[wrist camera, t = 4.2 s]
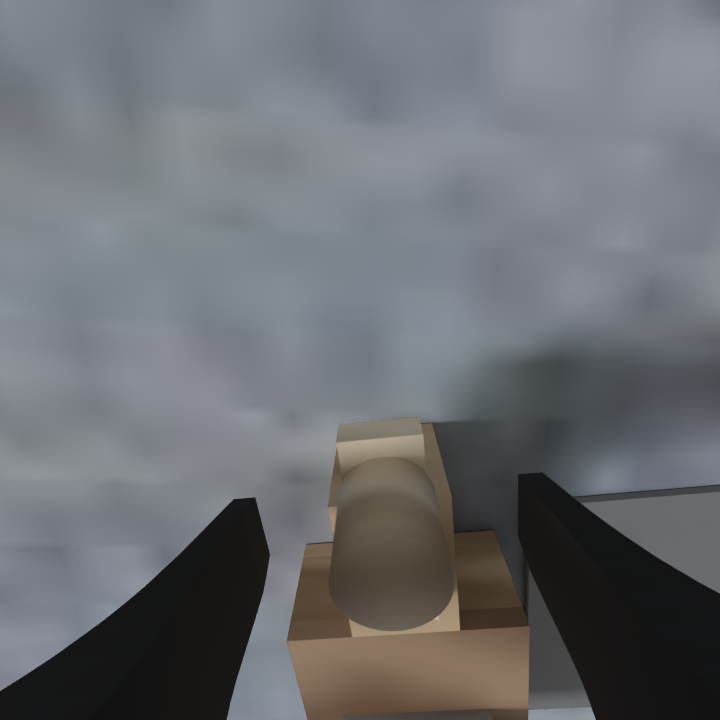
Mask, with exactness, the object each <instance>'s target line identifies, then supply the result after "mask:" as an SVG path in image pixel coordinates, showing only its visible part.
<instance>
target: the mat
mask: <svg viewBox="0 0 720 720" xmlns="http://www.w3.org/2000/svg"><path fill="white" fill-rule="evenodd" d="M573 498H575V499H576V500H577V501H579V502H580V503H581V504H582V505H584V506H585V507H586V508H588V509H589V510H590V511H591V512H593V513H594V514H595V515H597V516H598V517H599V518H601V519H602V520H603V521H605V522H606V523H608V524H609V525H610V526H612V527H613V528H615V529H616V530H617V531H619V532H620V533H622V534H623V535H624V536H626V537H627V538H629V539H630V540H632V541H633V542H635V543H636V544H638V545H639V546H641V547H642V548H644V549H645V550H647V551H648V552H650V553H651V554H653V555H654V556H656V557H658V558H659V559H661V560H662V561H664V562H666V563H667V564H669V565H671V566H672V567H674V568H676V569H677V570H679V571H681V572H683V573H684V574H686V575H688V576H689V577H691V578H693V579H694V580H696V581H698V582H700V583H701V584H703V585H705V586H707V587H709V588H710V589H712V590H714V591H716V592H718V593H720V485H718V486H706V487H694V488H682V489H670V490H658V491H646V492H634V493H621V494H609V495H597V496H585V497H573ZM525 615H526V618H527V621H528V623H529V626H530V634H529V693H528V710H533V709H553V708H574V707H591V705H590V702H589V700H588V697H587V694H586V692H585V689H584V686H583V684H582V681H581V679H580V677H579V674H578V672H577V670H576V668H575V665H574V663H573V661H572V659H571V657H570V654H569V652H568V650H567V648H566V646H565V644H564V642H563V640H562V638H561V636H560V633H559V631H558V629H557V627H556V625H555V623H554V621H553V619H552V617H551V615H550V612H549V610H548V608H547V606H546V604H545V602H544V600H543V598H542V596H541V593H540V591H539V589H538V587H537V585H536V583H535V581H534V578H533V576H532V574H531V572H530V569H529V566H528V563H527V560H526V611H525Z"/></svg>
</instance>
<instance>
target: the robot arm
mask: <svg viewBox="0 0 720 720" xmlns="http://www.w3.org/2000/svg"><path fill="white" fill-rule="evenodd" d="M518 536H519V539H520V542H521V545H522V548H523V551H524V554H525V557H526V560H527V563H528V566H529V569H530V572H531V574H532V576H533V578H534V581H535V583H536V585H537V587H538V589H539V591H540V593H541V596H542V598H543V600H544V602H545V604H546V606H547V608H548V610H549V612H550V615H551V617H552V619H553V621H554V623H555V625H556V627H557V629H558V631H559V633H560V636H561V638H562V640H563V642H564V644H565V646H566V648H567V650H568V652H569V654H570V657H571V659H572V661H573V663H574V665H575V668H576V670H577V672H578V674H579V677H580V679H581V681H582V684H583V686H584V689H585V692H586V694H587V697H588V700H589V702H590V705H591V708H592V710H593V713H594V715H595V718H596V720H720V593H718V592H716V591H714V590H712V589H710V588H709V587H707V586H705V585H703V584H701V583H700V582H698V581H696V580H694V579H693V578H691V577H689V576H688V575H686V574H684V573H683V572H681V571H679V570H677V569H676V568H674V567H672V566H671V565H669V564H667V563H666V562H664V561H662V560H661V559H659V558H658V557H656V556H654V555H653V554H651V553H650V552H648V551H647V550H645V549H644V548H642V547H641V546H639V545H638V544H636V543H635V542H633V541H632V540H630V539H629V538H627V537H626V536H624V535H623V534H622V533H620V532H619V531H617V530H616V529H615V528H613V527H612V526H610V525H609V524H608V523H606V522H605V521H603V520H602V519H601V518H599V517H598V516H597V515H595V514H594V513H593V512H591V511H590V510H589V509H588V508H586V507H585V506H584V505H582V504H581V503H580V502H579V501H577V500H576V499H575V498H573V497H572V496H571V495H570V494H568V493H567V492H566V491H565V490H563V489H562V488H561V487H560V486H558V485H557V484H556V483H555V482H553V481H552V480H551V479H550V478H548V477H547V476H546V475H545V474H543V473H542V472H541V473H530V474H518ZM269 557H270V553H269V549H268V545H267V541H266V537H265V534H264V530H263V526H262V522H261V518H260V514H259V510H258V507H257V503H256V499H255V497H254V498H243V499H234V500H233V501H232V502H231V503H230V504H229V505H228V506H227V507H226V508H225V509H224V510H223V511H222V512H221V513H220V514H219V515H218V516H217V517H216V518H215V519H214V520H213V521H212V522H211V523H210V524H209V525H208V526H207V527H206V528H205V529H204V530H203V531H202V532H201V533H200V534H199V535H198V536H197V537H196V538H195V539H194V540H193V541H192V542H191V543H190V544H189V545H188V546H187V547H186V548H185V549H184V550H183V551H182V552H181V553H180V554H179V555H178V556H177V557H176V558H175V559H174V560H173V561H172V562H171V563H170V564H169V565H168V566H166V567H165V568H164V569H163V570H162V571H161V572H160V573H159V574H158V575H157V576H156V577H155V578H154V579H153V580H151V581H150V582H149V583H148V584H147V585H146V586H145V587H144V588H143V589H141V590H140V591H139V592H138V593H137V594H136V595H134V596H133V597H132V598H131V599H130V600H129V601H127V602H126V603H125V604H124V605H122V606H121V607H120V608H119V609H117V610H116V611H115V612H114V613H112V614H111V615H110V616H109V617H107V618H106V619H105V620H104V621H102V622H101V623H100V624H98V625H97V626H96V627H94V628H93V629H91V630H90V631H89V632H87V633H86V634H84V635H83V636H82V637H80V638H79V639H78V640H76V641H75V642H73V643H72V644H71V645H69V646H68V647H67V648H65V649H64V650H62V651H61V652H60V653H58V654H57V655H55V656H54V657H52V658H51V659H49V660H48V661H46V662H45V663H43V664H42V665H40V666H39V667H37V668H36V669H34V670H33V671H31V672H30V673H28V674H27V675H25V676H24V677H22V678H20V679H19V680H17V681H16V682H14V683H12V684H11V685H9V686H8V687H6V688H4V689H3V690H1V691H0V720H227V715H228V711H229V706H230V702H231V698H232V694H233V690H234V687H235V683H236V680H237V676H238V673H239V670H240V667H241V663H242V660H243V657H244V654H245V650H246V647H247V644H248V641H249V637H250V634H251V631H252V628H253V625H254V621H255V618H256V615H257V611H258V608H259V605H260V601H261V598H262V594H263V591H264V585H265V580H266V575H267V569H268V563H269Z"/></svg>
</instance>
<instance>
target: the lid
mask: <svg viewBox="0 0 720 720" xmlns="http://www.w3.org/2000/svg"><path fill="white" fill-rule="evenodd" d="M459 620H460V631H445V632H429V633H413V634H397V635H380V636H364V637H352V633H351V628H350V622H349V618H338V619H322V620H307V621H292V622H291V623H290V628H289V633H288V638H287V644H288V647H289V651H290V655H291V659H292V662H293V666H294V670H295V674H296V678H297V681H298V685H299V689H300V693H301V696H302V700H303V704H304V708H305V711H306V715H307V719H308V720H528V693H529V634H530V626H529V623H528V621H527V618H526V615H525V612H524V610H523V607H507V608H491V609H476V610H461V611H459Z"/></svg>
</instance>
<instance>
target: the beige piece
mask: <svg viewBox="0 0 720 720" xmlns="http://www.w3.org/2000/svg"><path fill="white" fill-rule="evenodd" d="M336 445H337V451H338V457H339V463H340V469H341V475H342V484H341V486H340V490H339V497H338V506H337V514H336V522H335V531H334V539H333V548H332V556H331V565H330V573H329V584H328V585H329V592H330V595H331V598H332V600H333V602H334V604H335V605H336V607H337V608H338V609H339V610H340V611H341V613H342V614H344V615H345V616H346V617H347V618H349V619H350V620H352V621H353V622H355V623H357V624H359V625H362V626H364V627H367V628H371V629H375V630H381V631H403V630H409V629H413V628H416V627H420V626H422V625H424V624H426V623H428V622H430V621H432V620H439V615H440V614H441V613H442V612H443V611H444V610H445V608H446V607H447V606H448V604H449V602H450V601H451V598H452V596H453V591H454V577H453V572H452V568H451V563H450V558H449V554H448V549H447V545H446V540H445V535H444V531H443V526H442V521H441V517H440V512H439V507H438V503H437V498H436V493H435V489H434V486H433V483H432V481H431V479H430V478H429V476H428V475H427V473H426V461H425V449H424V438H423V431H422V426H421V422H420V417H413V418H403V419H393V420H383V421H372V422H362V423H352V424H342V425H339V427H338V433H337V440H336Z"/></svg>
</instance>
